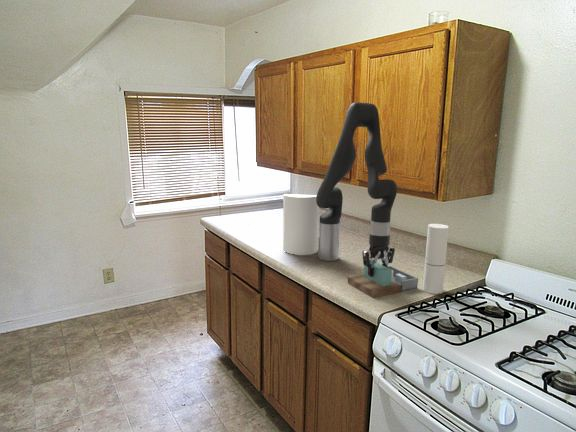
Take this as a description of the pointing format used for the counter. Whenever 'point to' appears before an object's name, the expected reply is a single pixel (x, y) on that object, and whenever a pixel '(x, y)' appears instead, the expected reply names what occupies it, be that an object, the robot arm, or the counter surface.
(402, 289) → the tray
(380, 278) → the mint green rectangular block
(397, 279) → the blue tile
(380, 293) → the board
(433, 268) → the cylindrical container
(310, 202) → the cylinder
